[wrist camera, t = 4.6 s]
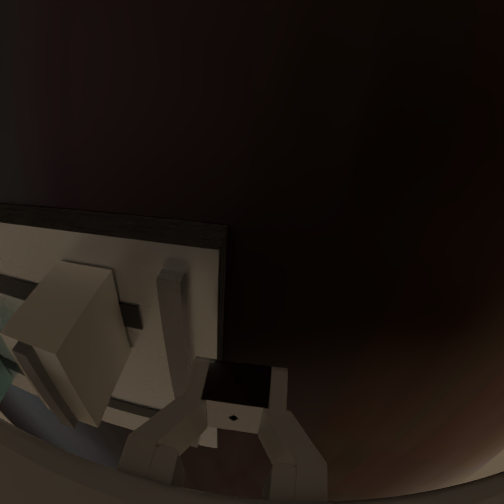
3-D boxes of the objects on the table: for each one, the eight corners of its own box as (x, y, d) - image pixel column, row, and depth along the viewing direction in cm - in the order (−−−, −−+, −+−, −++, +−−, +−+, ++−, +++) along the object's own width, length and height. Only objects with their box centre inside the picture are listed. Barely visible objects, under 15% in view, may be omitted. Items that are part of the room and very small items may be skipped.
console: (227, 225, 11) (215, 261, 9) (221, 427, 19) (215, 455, 17) (-84, 198, 12) (-105, 214, 10) (-16, 352, 20) (-28, 369, 18)
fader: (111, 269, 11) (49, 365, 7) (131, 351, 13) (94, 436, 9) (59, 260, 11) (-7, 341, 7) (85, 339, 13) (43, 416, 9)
